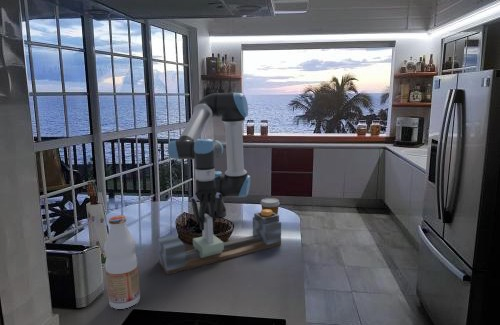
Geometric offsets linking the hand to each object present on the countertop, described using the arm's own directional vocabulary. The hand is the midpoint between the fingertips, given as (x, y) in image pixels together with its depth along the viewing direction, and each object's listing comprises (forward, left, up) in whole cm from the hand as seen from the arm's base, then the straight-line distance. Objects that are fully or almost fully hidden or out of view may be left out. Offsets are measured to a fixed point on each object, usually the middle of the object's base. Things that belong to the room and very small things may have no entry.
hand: (207, 236), depth 144 cm
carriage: (0, 0, -7) cm, 7 cm away
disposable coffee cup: (-18, +41, -9) cm, 46 cm away
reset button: (0, +28, +3) cm, 28 cm away
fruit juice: (+16, -36, -9) cm, 40 cm away
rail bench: (0, +6, -9) cm, 11 cm away
